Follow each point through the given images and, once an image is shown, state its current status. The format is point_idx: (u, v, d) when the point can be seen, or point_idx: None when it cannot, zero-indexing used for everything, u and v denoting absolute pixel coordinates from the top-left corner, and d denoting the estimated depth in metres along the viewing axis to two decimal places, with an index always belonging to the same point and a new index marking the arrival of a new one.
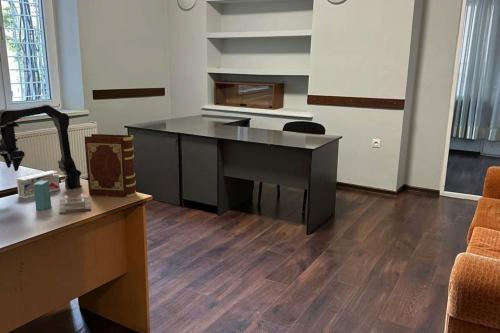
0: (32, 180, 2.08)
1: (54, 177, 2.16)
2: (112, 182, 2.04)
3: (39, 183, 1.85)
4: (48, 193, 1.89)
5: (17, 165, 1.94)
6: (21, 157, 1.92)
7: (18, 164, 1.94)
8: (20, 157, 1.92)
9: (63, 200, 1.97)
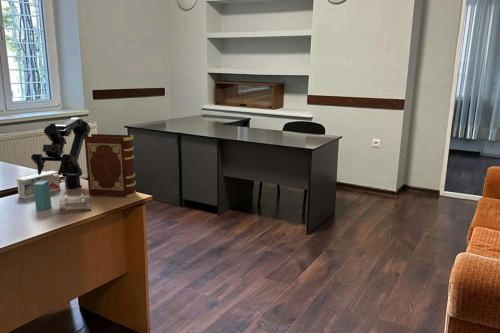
0: (32, 180, 2.08)
1: (54, 177, 2.16)
2: (112, 182, 2.04)
3: (39, 183, 1.85)
4: (48, 193, 1.89)
5: (62, 170, 1.96)
6: (70, 164, 1.99)
7: (63, 170, 1.96)
8: (70, 164, 1.99)
9: (63, 200, 1.97)
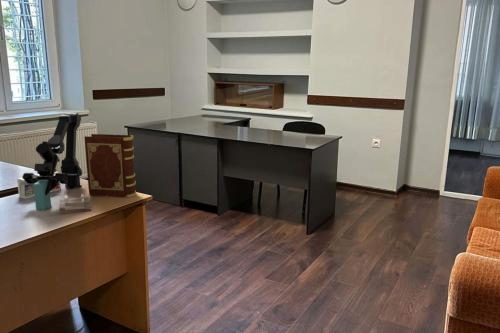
0: None
1: None
2: (112, 182, 2.04)
3: (39, 183, 1.85)
4: (48, 193, 1.89)
5: (49, 190, 1.88)
6: (58, 183, 1.91)
7: (50, 189, 1.89)
8: (58, 183, 1.91)
9: (63, 200, 1.97)
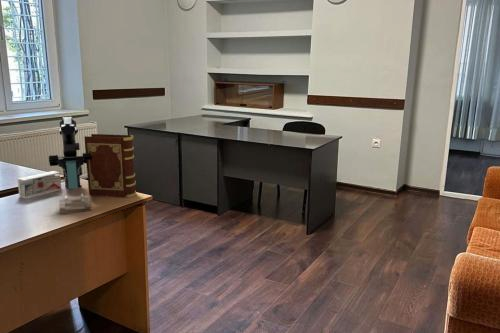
0: (33, 180, 2.07)
1: (55, 178, 2.15)
2: (112, 182, 2.04)
3: (71, 163, 1.94)
4: None
5: (78, 169, 1.98)
6: (83, 163, 2.02)
7: (79, 169, 1.99)
8: (83, 162, 2.02)
9: (63, 200, 1.97)
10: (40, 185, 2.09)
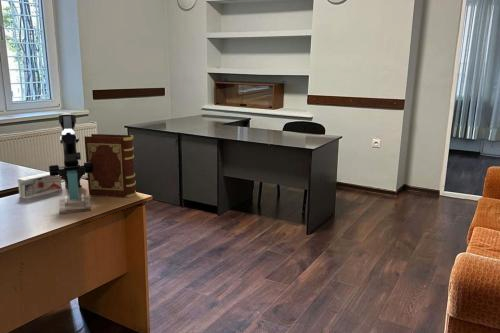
0: (33, 180, 2.07)
1: (56, 178, 2.15)
2: (112, 182, 2.04)
3: (72, 173, 1.88)
4: None
5: None
6: (84, 173, 1.96)
7: None
8: (84, 172, 1.96)
9: (63, 200, 1.97)
10: (40, 185, 2.09)
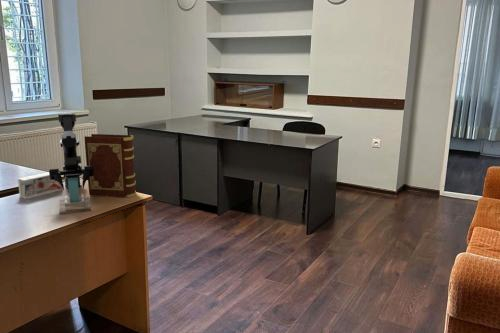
0: (34, 180, 2.07)
1: None
2: (112, 182, 2.04)
3: (72, 180, 1.87)
4: None
5: (84, 182, 1.92)
6: (89, 176, 1.95)
7: None
8: (89, 175, 1.95)
9: (63, 200, 1.97)
10: (40, 185, 2.09)
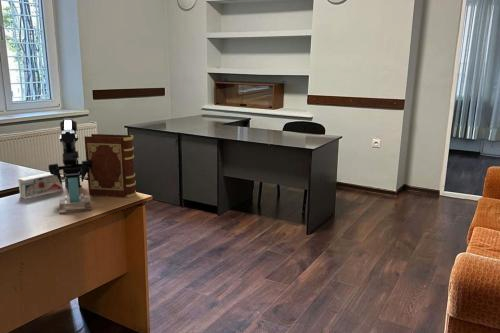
0: (34, 180, 2.07)
1: (57, 178, 2.14)
2: (112, 182, 2.04)
3: (72, 180, 1.87)
4: None
5: (84, 176, 2.00)
6: None
7: (84, 176, 2.00)
8: (88, 169, 2.03)
9: (63, 200, 1.97)
10: (40, 185, 2.09)
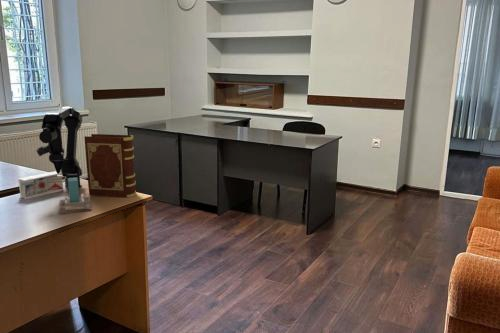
0: (34, 180, 2.07)
1: (57, 178, 2.14)
2: (112, 182, 2.04)
3: (72, 180, 1.87)
4: None
5: (58, 168, 1.97)
6: (61, 160, 1.94)
7: (59, 167, 1.96)
8: (60, 160, 1.94)
9: (63, 200, 1.97)
10: (41, 185, 2.09)
